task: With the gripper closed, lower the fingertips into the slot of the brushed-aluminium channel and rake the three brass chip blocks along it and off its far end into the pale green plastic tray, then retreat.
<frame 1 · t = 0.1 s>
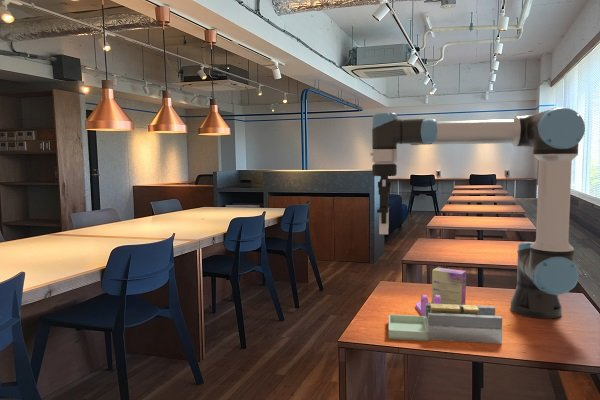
hand: (384, 230, 153), 28 cm above the table, fingers open, 13 cm apart
chip b: (451, 320, 140), point 4 cm above the table, touching channel
channel: (461, 334, 140), on the table
chip a: (470, 321, 140), point 4 cm above the table, touching channel
box: (448, 304, 170), on the table
bracket: (427, 312, 161), on the table
tray: (407, 331, 143), on the table
chip c: (437, 319, 141), point 4 cm above the table, touching channel
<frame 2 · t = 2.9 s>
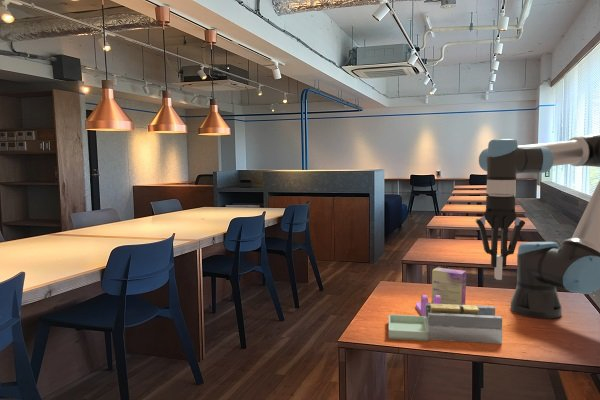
hand: (498, 278, 137), 17 cm above the table, fingers closed
nothing on the table moved.
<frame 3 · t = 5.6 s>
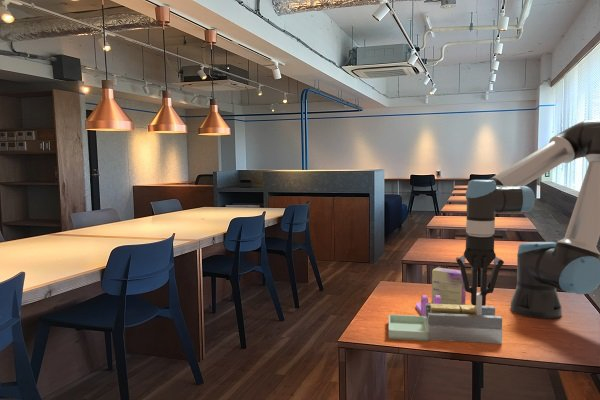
hand: (477, 316, 139), 6 cm above the table, fingers closed
chip a: (467, 320, 140), point 4 cm above the table, touching channel, gripper
everything else where it was.
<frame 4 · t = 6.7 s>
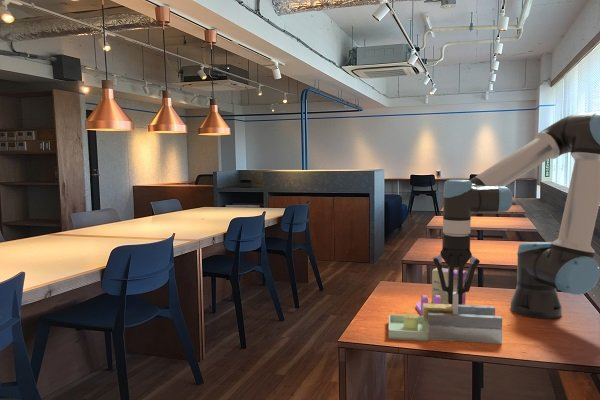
hand: (454, 315, 140), 6 cm above the table, fingers closed
chip b: (430, 319, 142), point 4 cm above the table, touching channel
chip a: (444, 319, 141), point 4 cm above the table, touching channel, gripper
chip c: (417, 322, 142), point 3 cm above the table, tilted 90°, touching tray
everything else where it was.
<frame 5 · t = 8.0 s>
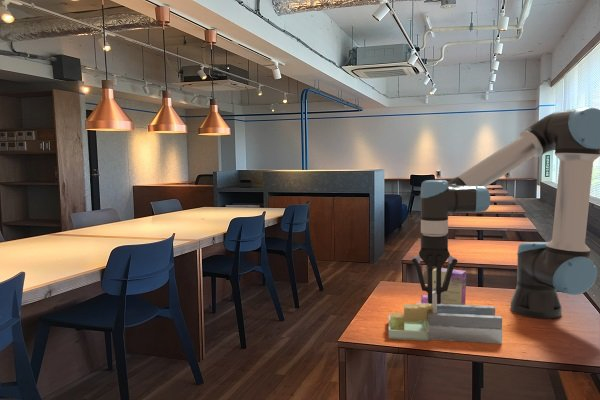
hand: (434, 314, 141), 5 cm above the table, fingers closed
chip b: (411, 319, 143), point 4 cm above the table, touching chip a, chip c
chip a: (425, 318, 142), point 4 cm above the table, touching channel, chip b, gripper
chip c: (404, 322, 143), point 3 cm above the table, tilted 90°, touching chip b, tray
everything else where it was.
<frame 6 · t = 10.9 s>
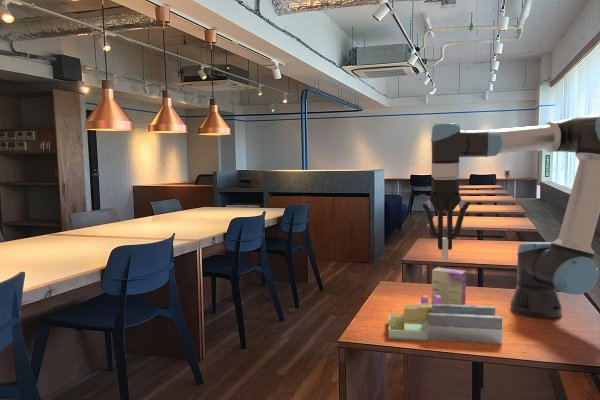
hand: (444, 260, 139), 21 cm above the table, fingers closed
chip a: (425, 318, 142), point 4 cm above the table, touching channel, chip b
everything else where it was.
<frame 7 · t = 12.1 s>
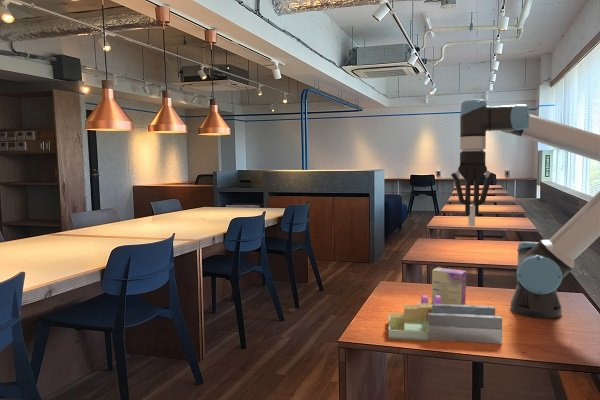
hand: (471, 225, 153), 29 cm above the table, fingers closed
nothing on the table moved.
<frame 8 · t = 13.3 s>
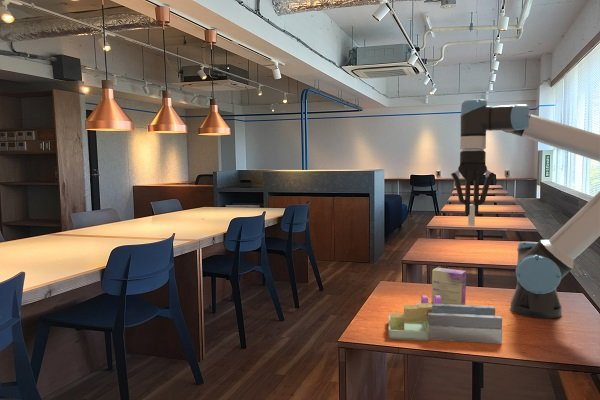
hand: (471, 225, 154), 29 cm above the table, fingers closed
nothing on the table moved.
at the end: chip a inside the target area on the tray (5.0 cm from its centre), point 4.0 cm above the tray's base; chip b inside the target area on the tray (1.1 cm from its centre), point 3.3 cm above the tray's base; chip c inside the target area on the tray (1.0 cm from its centre), point 2.6 cm above the tray's base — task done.
